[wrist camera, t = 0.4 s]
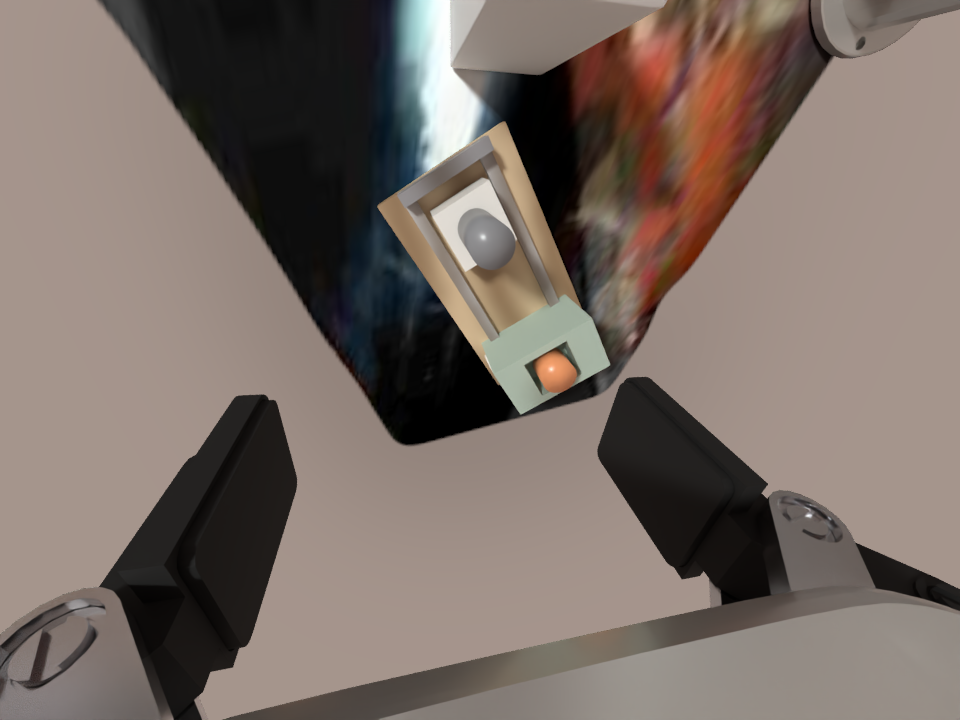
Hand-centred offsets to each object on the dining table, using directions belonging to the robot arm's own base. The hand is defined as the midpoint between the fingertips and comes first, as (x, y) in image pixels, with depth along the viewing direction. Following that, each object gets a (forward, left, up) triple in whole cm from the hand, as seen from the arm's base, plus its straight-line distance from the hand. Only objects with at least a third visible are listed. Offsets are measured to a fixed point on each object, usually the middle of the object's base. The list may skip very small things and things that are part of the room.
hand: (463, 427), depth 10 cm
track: (-4, +7, -26) cm, 27 cm away
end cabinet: (-4, +15, -26) cm, 30 cm away
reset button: (-4, +15, -20) cm, 25 cm away
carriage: (-4, +1, -24) cm, 24 cm away
